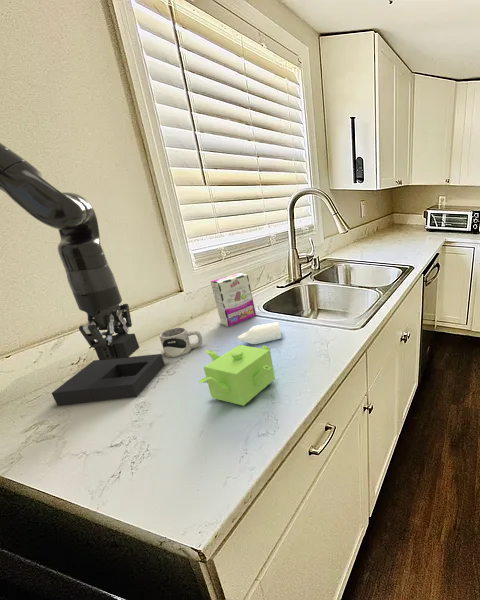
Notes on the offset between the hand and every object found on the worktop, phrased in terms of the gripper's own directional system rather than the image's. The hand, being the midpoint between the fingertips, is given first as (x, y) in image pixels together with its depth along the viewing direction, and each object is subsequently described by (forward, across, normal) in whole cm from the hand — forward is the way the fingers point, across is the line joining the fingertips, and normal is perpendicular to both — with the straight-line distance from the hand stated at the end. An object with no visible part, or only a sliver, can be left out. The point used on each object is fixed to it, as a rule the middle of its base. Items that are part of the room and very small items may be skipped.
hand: (119, 352), depth 79 cm
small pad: (0, 0, 0) cm, 0 cm away
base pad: (+9, 0, -3) cm, 10 cm away
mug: (+9, -15, +7) cm, 19 cm away
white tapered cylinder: (+9, -16, +28) cm, 33 cm away
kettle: (+9, +10, +29) cm, 32 cm away
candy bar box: (+9, -35, +17) cm, 40 cm away
